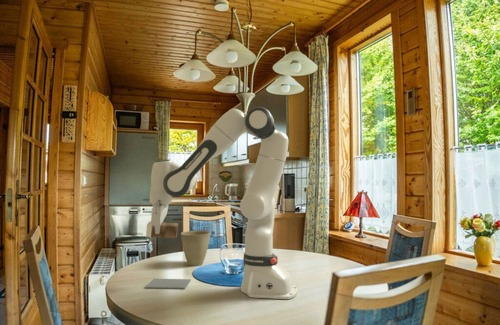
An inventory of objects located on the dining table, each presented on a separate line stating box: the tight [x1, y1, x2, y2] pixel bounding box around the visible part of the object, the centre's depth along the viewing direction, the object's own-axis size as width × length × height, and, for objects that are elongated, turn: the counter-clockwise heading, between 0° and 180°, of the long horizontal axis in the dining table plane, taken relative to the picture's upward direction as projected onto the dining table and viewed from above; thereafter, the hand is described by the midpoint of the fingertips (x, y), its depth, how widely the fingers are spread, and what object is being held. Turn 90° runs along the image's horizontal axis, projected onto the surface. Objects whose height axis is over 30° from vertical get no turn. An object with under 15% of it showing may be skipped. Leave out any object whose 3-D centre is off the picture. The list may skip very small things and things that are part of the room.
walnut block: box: [145, 221, 179, 239], centre depth 139 cm, size 5×5×12 cm
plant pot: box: [180, 230, 211, 267], centre depth 171 cm, size 15×15×16 cm
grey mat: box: [144, 278, 191, 290], centre depth 138 cm, size 16×11×1 cm
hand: (158, 231), depth 139 cm, fingers closed on walnut block, 5 cm apart
